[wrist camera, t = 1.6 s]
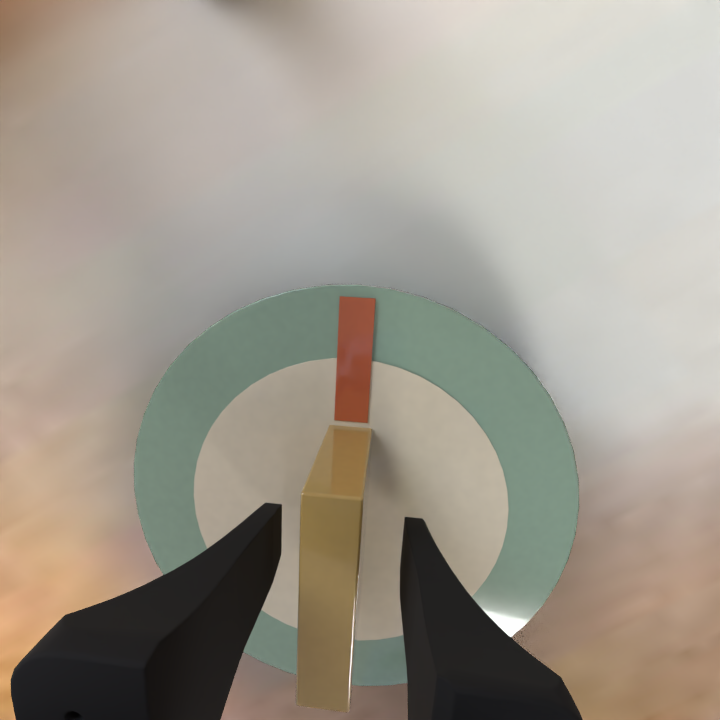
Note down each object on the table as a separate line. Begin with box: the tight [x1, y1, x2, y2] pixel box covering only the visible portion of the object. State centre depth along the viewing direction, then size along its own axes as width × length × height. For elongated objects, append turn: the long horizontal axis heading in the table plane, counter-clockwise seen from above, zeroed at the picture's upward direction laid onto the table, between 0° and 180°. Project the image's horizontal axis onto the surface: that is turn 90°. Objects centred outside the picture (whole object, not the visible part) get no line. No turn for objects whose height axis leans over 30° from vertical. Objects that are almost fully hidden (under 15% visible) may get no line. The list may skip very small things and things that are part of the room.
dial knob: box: [134, 284, 579, 713], centre depth 13 cm, size 17×17×5 cm
